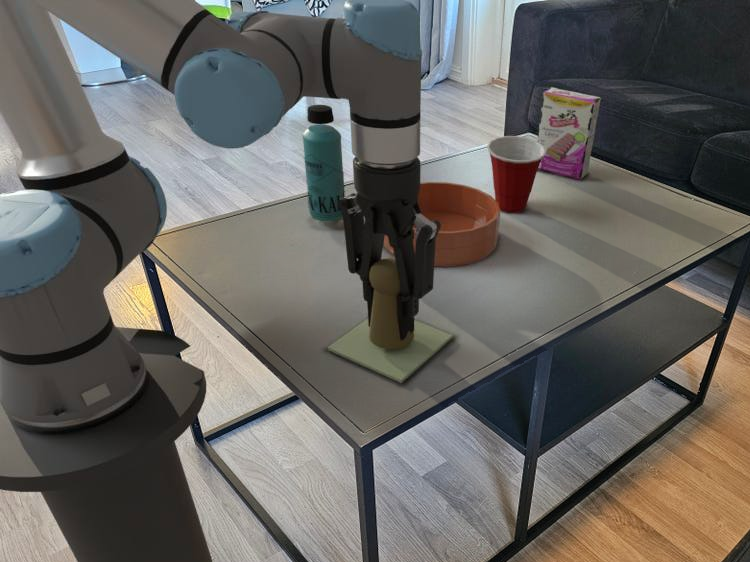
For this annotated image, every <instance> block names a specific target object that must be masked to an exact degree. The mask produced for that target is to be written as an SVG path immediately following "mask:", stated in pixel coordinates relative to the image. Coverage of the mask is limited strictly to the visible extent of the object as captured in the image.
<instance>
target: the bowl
mask: <svg viewBox="0 0 750 562" xmlns="http://www.w3.org/2000/svg"><path fill="white" fill-rule="evenodd" d="M418 203H419V206H420V208H421V214H422V215H423V216H424V217H426V218H427V219H428V220H430V221H431V222H432V221H433V220H438V221H439V222H440V224H441V228H440V230H439V232H438V235H437V237H436V243H435V262H434V267H456V266H463V265H469V264H472V263H475V262H478V261H481V260H482V259H485V258H487V257H488V256H490V254H491V253H493V251H495V249H496V248H497V244H498V241H499V232H500V231H499V230H500V221H501V220H500V219H501V210H500V208H499V204H498V202H497V201H496V200H495V197H493V196H491V195H490V194H488V193H487V192H485V191H482V190H481V189H479V188H475V187H472V186H469V185H466V184H460V183H454V182H448V181H447V182H446V181H425V182H420V191H419V194H418ZM413 230H414V239H413V245H414V251H415V246H416V240H417V237H416V236H415V232H416V225H415V224H414V225H413ZM383 247H384V248H385V249H386V250H387V251H388V252H389V253H391V254H392V255H394V250H393V247H391V246H390V245H389V240H388V236H386V235H385V238H384V244H383Z"/></svg>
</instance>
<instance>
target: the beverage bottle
mask: <svg viewBox="0 0 750 562" xmlns="http://www.w3.org/2000/svg"><path fill="white" fill-rule="evenodd" d="M306 118H307V122H308V123H310V124H312V125H310V126H308V127H307V128H306V129H304V131H303V133H302V134H301V135H302V143H303V154H304V169H305V170H304V171H305V175H304V176H305V181H306V184H305V185H306V187H307V189H306V190H307V191H306V192H307V193H306V194H307V207H308V213H309V214H310V217H311V218H312V219H314V220H316V221H320V222H335V221H338V220H341V219H343V216H342V214H341V211H340V208H339V205H338V201H339V200H340V199H342V198H344V197H346V196H347V195H346V192H345V190H346V189H345V173H344V166H343V165H344V164H343V150H342V149H343V148H342V134H341V133H340V132H339V131H338V130H337V129H336V128H335V127H333V125H328V124H331V123H333V122H334V121H335V118H334V114H333V108H332V107H331V106H330V105H327V104H313V105H310V106H308V107H307V117H306Z"/></svg>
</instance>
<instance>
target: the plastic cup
mask: <svg viewBox="0 0 750 562" xmlns="http://www.w3.org/2000/svg"><path fill="white" fill-rule="evenodd" d="M486 147H487V148H486V149H487V151H488V153H489V157H490V163H491V169H492V170H491V171H492V179H493V180H492V183H493V190H494V199H495V200H496V201H497V202H498V204H499V208H500V212H504V213H509V214H517V213H518V214H519V213H522V212H524V211H525V210H526V208H527V205H528V202H529V198H530V195H531V193H532V189H533V188H534V187H533V186H534V182H535V179H536V177H537V172H538V170H537V169H538V167H539V164H540V162H541V159H542V158H543V157H544V155H545V153H546V149H545V147H544V145H542V144H541V143H539V142H538V141H537V140H535V139H533V138H530V137H526V136H519V135H503V136H499V137H495V138H493V139H491V140H490V141H489V142H488V144H487V145H486Z"/></svg>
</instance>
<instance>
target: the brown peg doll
mask: <svg viewBox="0 0 750 562" xmlns="http://www.w3.org/2000/svg"><path fill="white" fill-rule="evenodd" d="M369 279H370V282H371V285H372V287H373V288H374V293H373V303H372V312H371V321H370V330H369V339H370V341H371V342H372V343H373V344H374V345H376V346H378V347H381V348H385V349H397V348H401V347H404V346H407V345H408V344H410V343H411V342H412V340H413V339H414V331H413V332H412V333H410V331H408V333H407V335H406V338H405V339H404V340H401V339H400V333H399V326H398V319H397V296H398V295H399V294H401V293H402V291H401V286H400V281H399V275H398V270H397V265H396V260H395V257H388V258H387V257H386V258H381V260H378V261H376V262H375V263H374V264H373V265H372V267H371V269H370V272H369Z"/></svg>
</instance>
